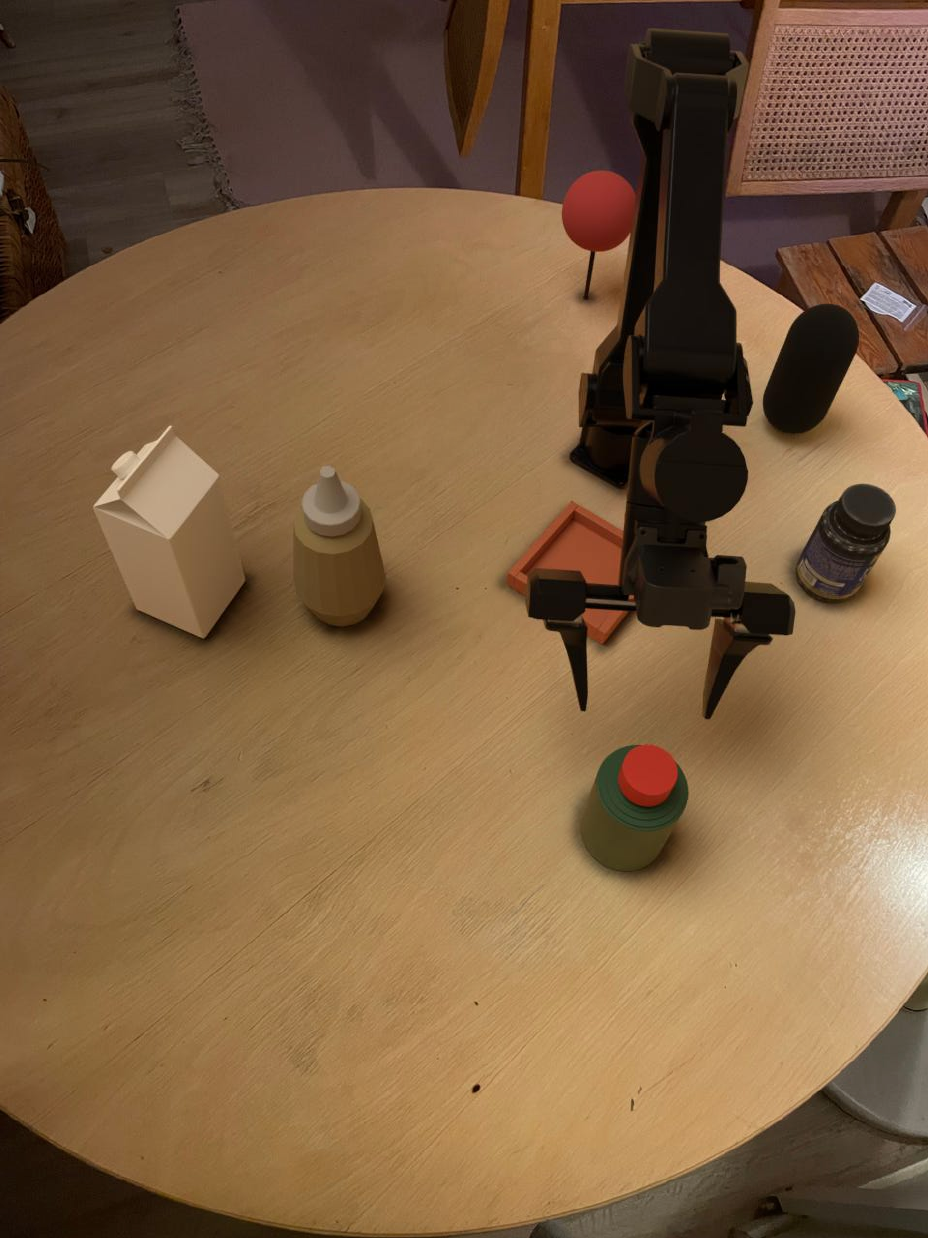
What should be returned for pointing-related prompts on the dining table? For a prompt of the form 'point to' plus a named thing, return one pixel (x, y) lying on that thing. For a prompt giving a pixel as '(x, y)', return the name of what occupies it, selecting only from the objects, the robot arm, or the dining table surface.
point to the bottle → (627, 819)
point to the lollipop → (598, 214)
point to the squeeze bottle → (336, 552)
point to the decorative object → (810, 368)
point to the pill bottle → (846, 543)
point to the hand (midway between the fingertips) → (644, 714)
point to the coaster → (578, 560)
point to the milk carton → (172, 534)
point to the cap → (647, 775)
